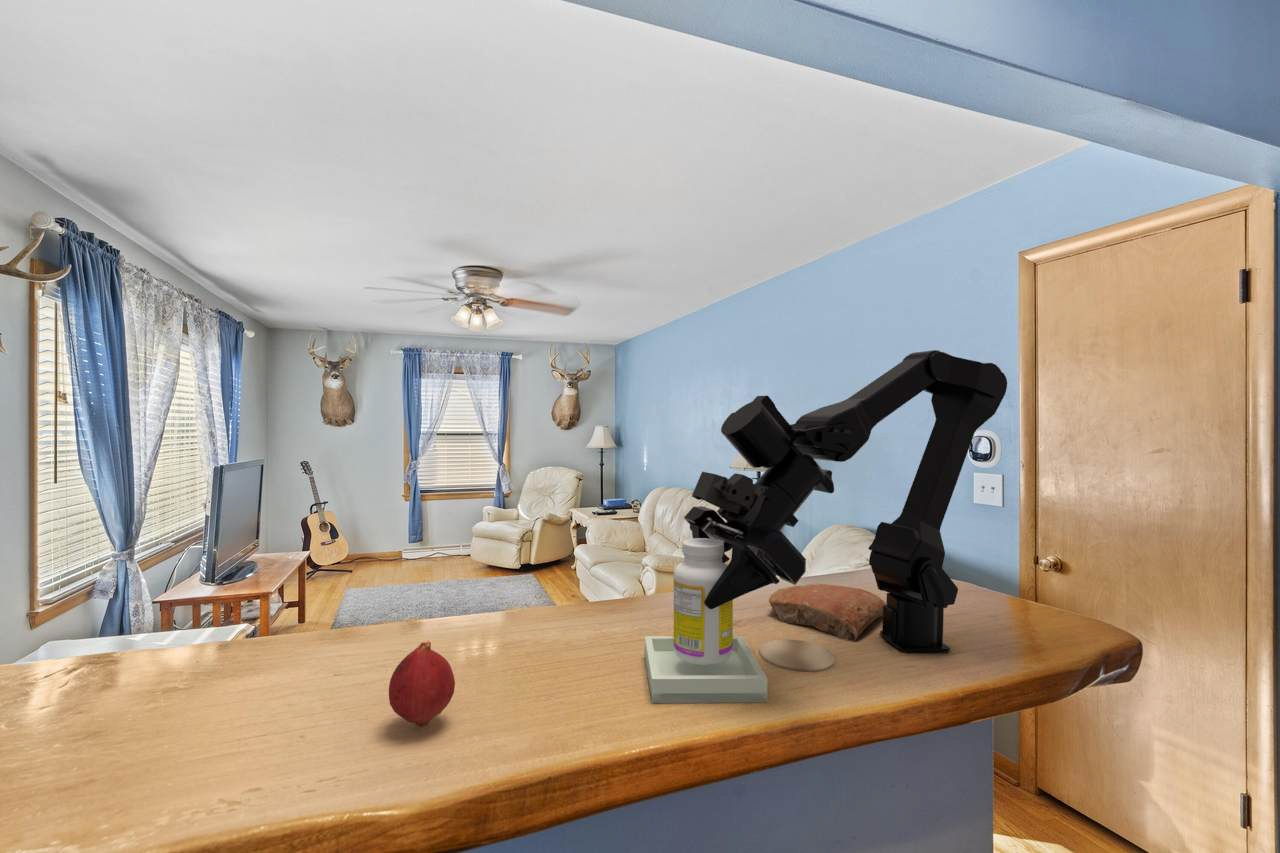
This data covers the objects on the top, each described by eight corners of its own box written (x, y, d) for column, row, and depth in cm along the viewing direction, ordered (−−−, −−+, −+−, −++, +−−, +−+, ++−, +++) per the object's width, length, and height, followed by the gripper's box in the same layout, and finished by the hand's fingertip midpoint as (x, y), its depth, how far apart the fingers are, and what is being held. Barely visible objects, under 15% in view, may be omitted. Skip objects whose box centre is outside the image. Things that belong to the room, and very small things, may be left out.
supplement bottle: (723, 642, 72) (724, 535, 72) (739, 665, 65) (741, 547, 65) (668, 644, 71) (669, 536, 71) (678, 668, 64) (680, 549, 64)
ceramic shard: (799, 566, 100) (892, 597, 91) (791, 603, 100) (883, 638, 91) (761, 571, 89) (863, 607, 80) (751, 614, 89) (852, 655, 80)
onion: (388, 747, 53) (389, 656, 53) (387, 716, 58) (388, 634, 58) (457, 734, 55) (458, 647, 55) (450, 706, 60) (451, 627, 60)
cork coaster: (819, 642, 80) (819, 639, 80) (846, 671, 71) (846, 667, 71) (752, 642, 79) (752, 639, 79) (771, 671, 70) (771, 668, 70)
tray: (741, 656, 75) (741, 636, 74) (766, 702, 63) (767, 678, 62) (644, 656, 74) (644, 636, 74) (651, 703, 62) (652, 679, 62)
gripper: (699, 443, 78) (617, 534, 74) (783, 452, 60) (682, 571, 57) (751, 501, 81) (675, 591, 77) (845, 526, 63) (753, 643, 60)
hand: (692, 597), depth 68 cm, fingers closed on supplement bottle, 7 cm apart
